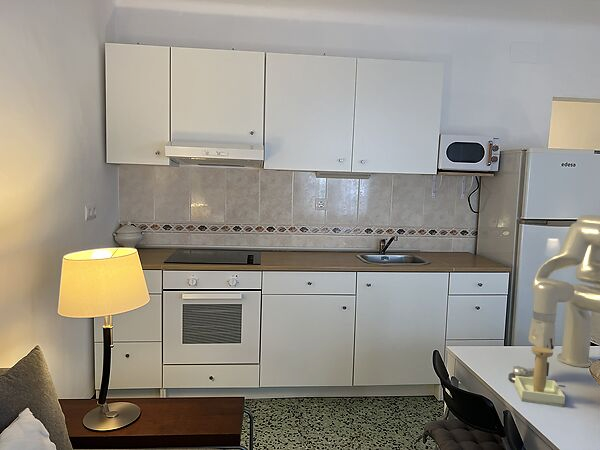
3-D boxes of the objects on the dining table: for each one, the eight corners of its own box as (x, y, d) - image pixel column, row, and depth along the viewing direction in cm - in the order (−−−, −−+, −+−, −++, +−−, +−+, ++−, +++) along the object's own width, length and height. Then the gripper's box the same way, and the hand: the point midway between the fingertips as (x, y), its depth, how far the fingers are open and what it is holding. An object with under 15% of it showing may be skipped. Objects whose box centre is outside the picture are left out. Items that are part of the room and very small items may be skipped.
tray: (514, 385, 168) (515, 375, 168) (553, 390, 165) (554, 380, 165) (521, 401, 156) (522, 390, 156) (563, 406, 153) (564, 396, 153)
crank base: (506, 375, 177) (507, 371, 176) (562, 382, 172) (562, 378, 172) (510, 383, 170) (510, 379, 170) (568, 390, 165) (568, 386, 165)
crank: (517, 378, 170) (518, 366, 169) (510, 373, 174) (511, 361, 173) (551, 377, 172) (552, 364, 171) (543, 372, 176) (544, 360, 176)
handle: (549, 397, 157) (552, 353, 156) (527, 392, 160) (531, 349, 159) (549, 392, 161) (553, 349, 160) (528, 387, 164) (532, 345, 163)
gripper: (523, 310, 182) (520, 356, 184) (545, 322, 167) (541, 372, 169) (543, 310, 182) (539, 356, 184) (566, 323, 167) (561, 372, 169)
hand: (540, 364), depth 177 cm, fingers closed
